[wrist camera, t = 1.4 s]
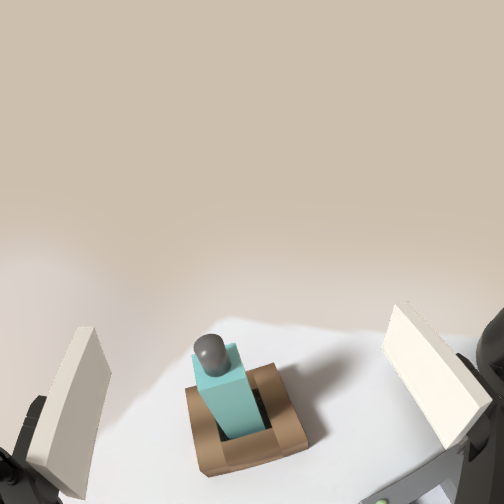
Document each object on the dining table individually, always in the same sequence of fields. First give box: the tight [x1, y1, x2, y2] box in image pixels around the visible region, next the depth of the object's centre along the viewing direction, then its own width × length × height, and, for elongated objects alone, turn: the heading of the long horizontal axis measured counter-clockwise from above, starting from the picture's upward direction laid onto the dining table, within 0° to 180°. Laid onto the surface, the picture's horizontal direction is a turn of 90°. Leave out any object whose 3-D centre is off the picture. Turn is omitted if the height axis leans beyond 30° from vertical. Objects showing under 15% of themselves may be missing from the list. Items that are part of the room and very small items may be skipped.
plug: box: [192, 334, 266, 440], centre depth 29 cm, size 4×4×16 cm
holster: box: [185, 363, 308, 477], centre depth 32 cm, size 12×12×3 cm
